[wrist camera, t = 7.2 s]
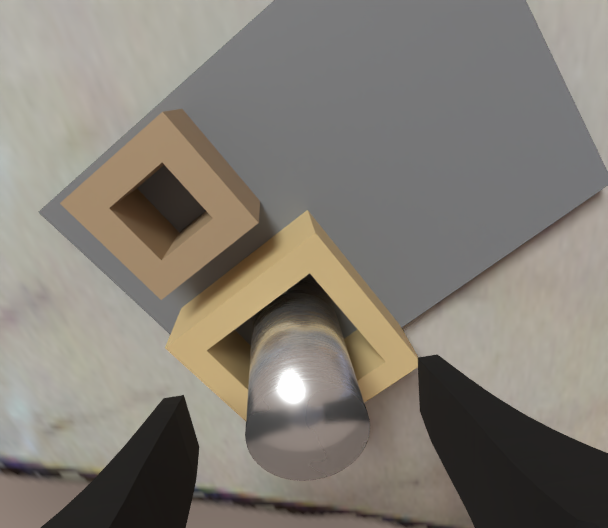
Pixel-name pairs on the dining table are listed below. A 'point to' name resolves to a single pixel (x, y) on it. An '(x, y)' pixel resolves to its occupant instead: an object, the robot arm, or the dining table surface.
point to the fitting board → (335, 176)
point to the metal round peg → (303, 389)
